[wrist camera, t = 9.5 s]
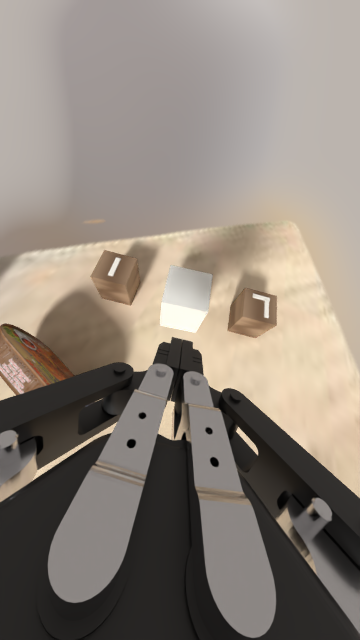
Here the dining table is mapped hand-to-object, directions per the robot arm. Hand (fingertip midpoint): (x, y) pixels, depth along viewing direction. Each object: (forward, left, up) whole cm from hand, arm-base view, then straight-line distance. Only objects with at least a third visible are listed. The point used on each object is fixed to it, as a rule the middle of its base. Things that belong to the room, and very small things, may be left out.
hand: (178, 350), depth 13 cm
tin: (-14, -4, -16) cm, 21 cm away
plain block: (0, +11, -15) cm, 19 cm away
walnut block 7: (+11, +12, -15) cm, 22 cm away
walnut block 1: (-11, +12, -15) cm, 23 cm away
